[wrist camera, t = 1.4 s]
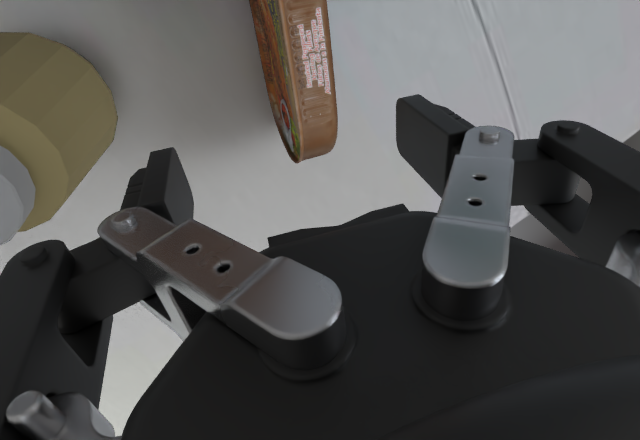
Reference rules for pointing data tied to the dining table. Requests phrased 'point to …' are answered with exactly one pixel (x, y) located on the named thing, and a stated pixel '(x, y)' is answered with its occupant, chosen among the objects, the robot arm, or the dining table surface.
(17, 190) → the squeeze bottle
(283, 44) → the tin
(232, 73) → the dining table surface
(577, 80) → the dining table surface
